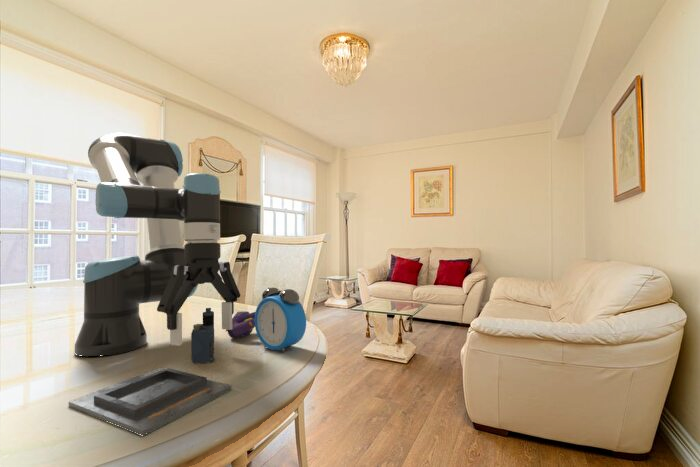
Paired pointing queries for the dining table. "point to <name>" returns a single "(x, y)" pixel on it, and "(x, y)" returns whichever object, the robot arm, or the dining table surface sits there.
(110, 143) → the robot arm
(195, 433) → the dining table surface
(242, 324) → the toy
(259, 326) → the alarm clock
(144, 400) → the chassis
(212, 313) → the vaping device
